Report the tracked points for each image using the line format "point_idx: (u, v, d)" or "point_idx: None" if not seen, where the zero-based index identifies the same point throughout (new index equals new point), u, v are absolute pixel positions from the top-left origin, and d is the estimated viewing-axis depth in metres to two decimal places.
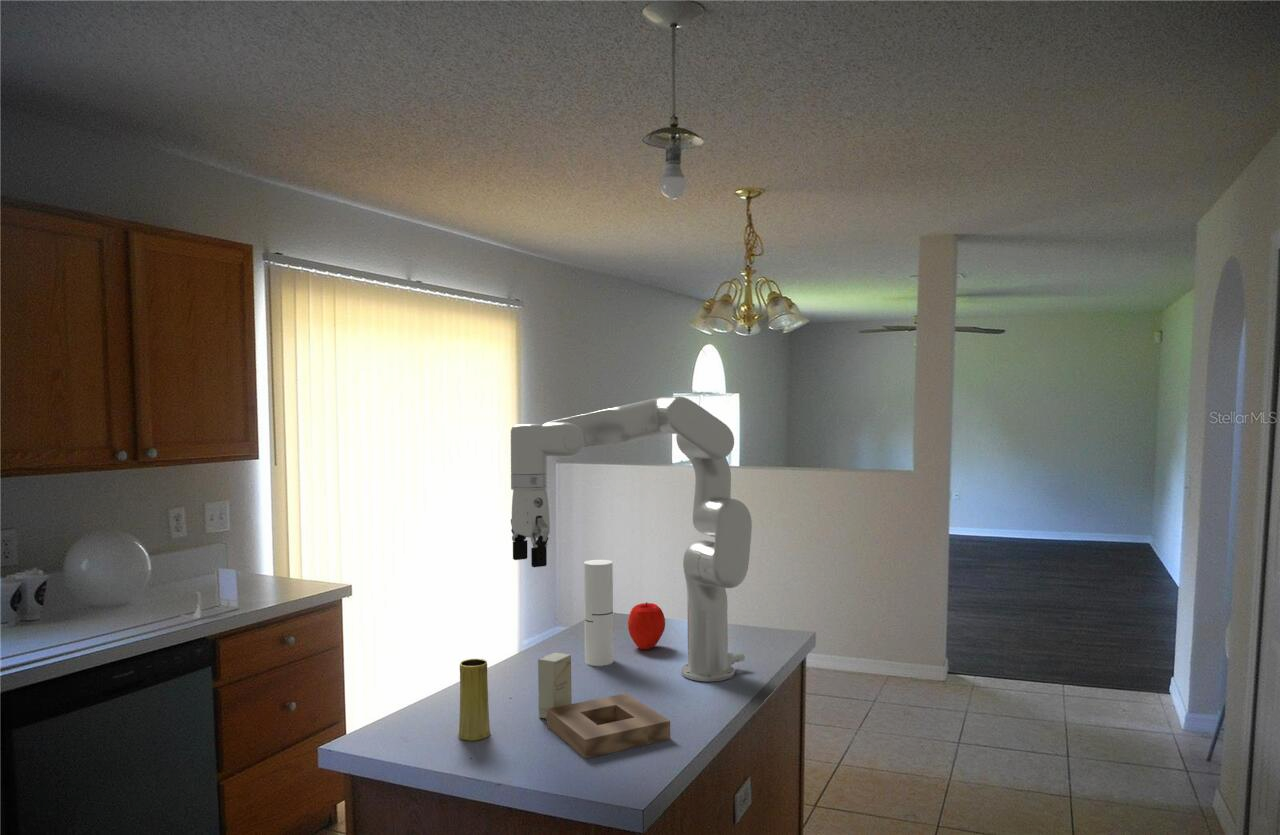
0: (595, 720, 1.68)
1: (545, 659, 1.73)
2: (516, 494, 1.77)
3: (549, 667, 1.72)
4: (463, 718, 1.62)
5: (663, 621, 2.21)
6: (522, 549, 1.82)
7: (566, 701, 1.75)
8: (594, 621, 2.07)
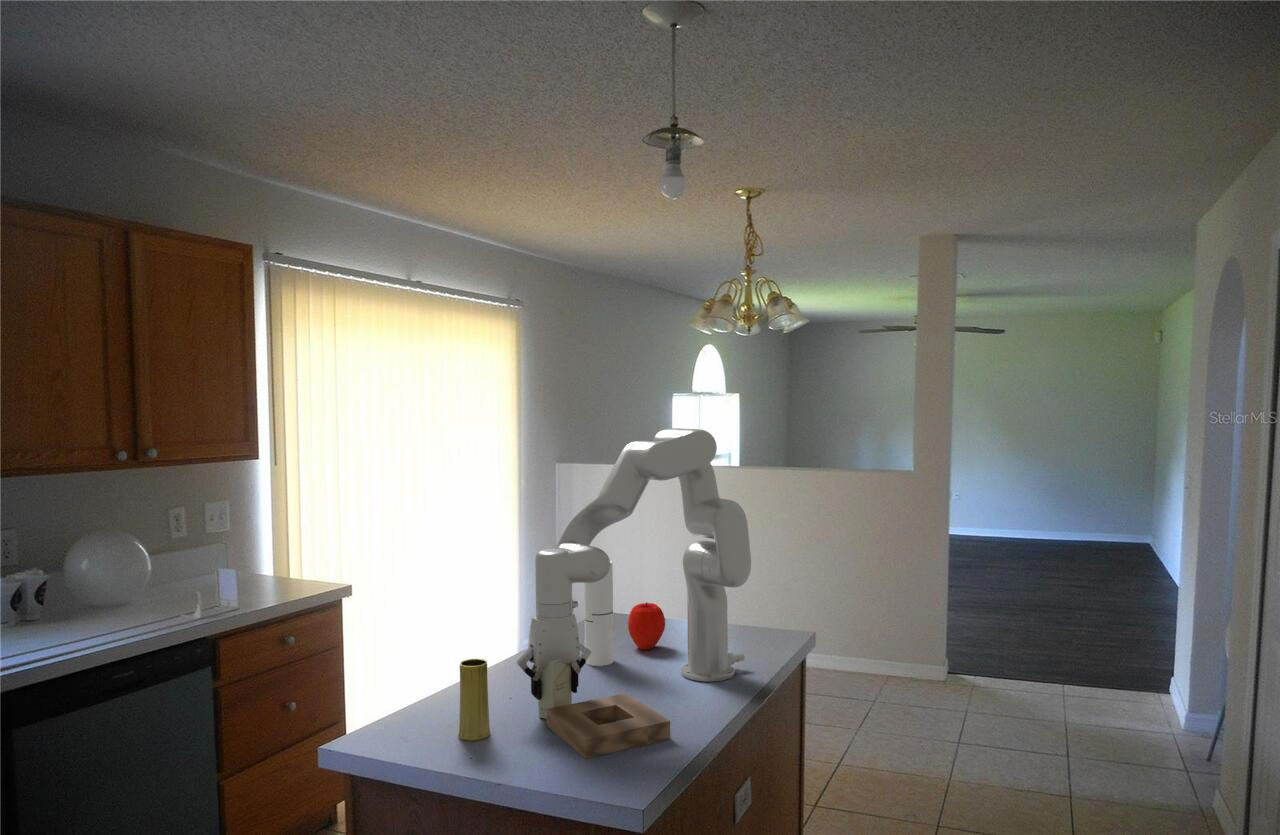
0: (595, 720, 1.68)
1: None
2: (555, 624, 1.72)
3: (550, 667, 1.72)
4: (463, 718, 1.62)
5: (663, 621, 2.21)
6: None
7: (566, 701, 1.75)
8: (594, 621, 2.07)
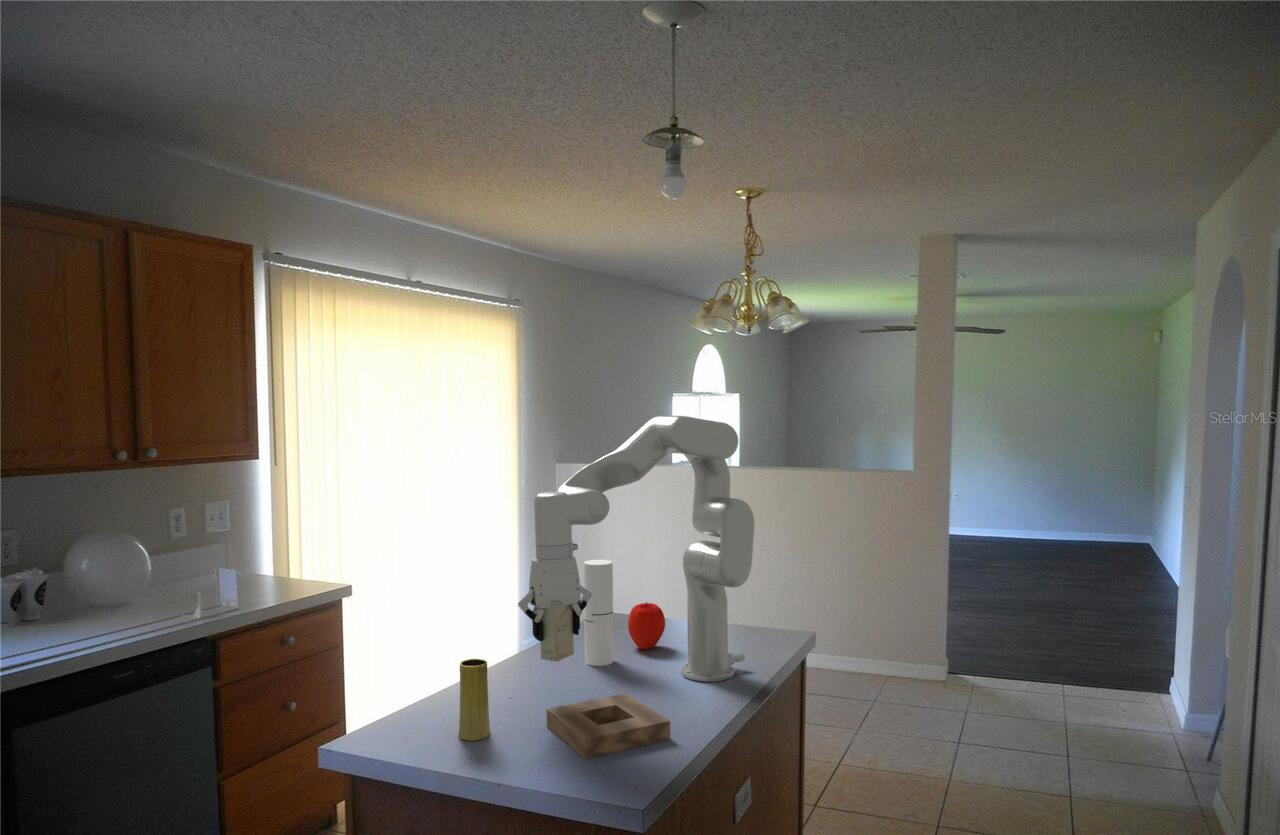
0: (595, 720, 1.68)
1: None
2: (556, 566, 1.72)
3: (551, 609, 1.72)
4: (463, 718, 1.62)
5: (663, 621, 2.21)
6: None
7: (568, 643, 1.75)
8: (594, 621, 2.07)
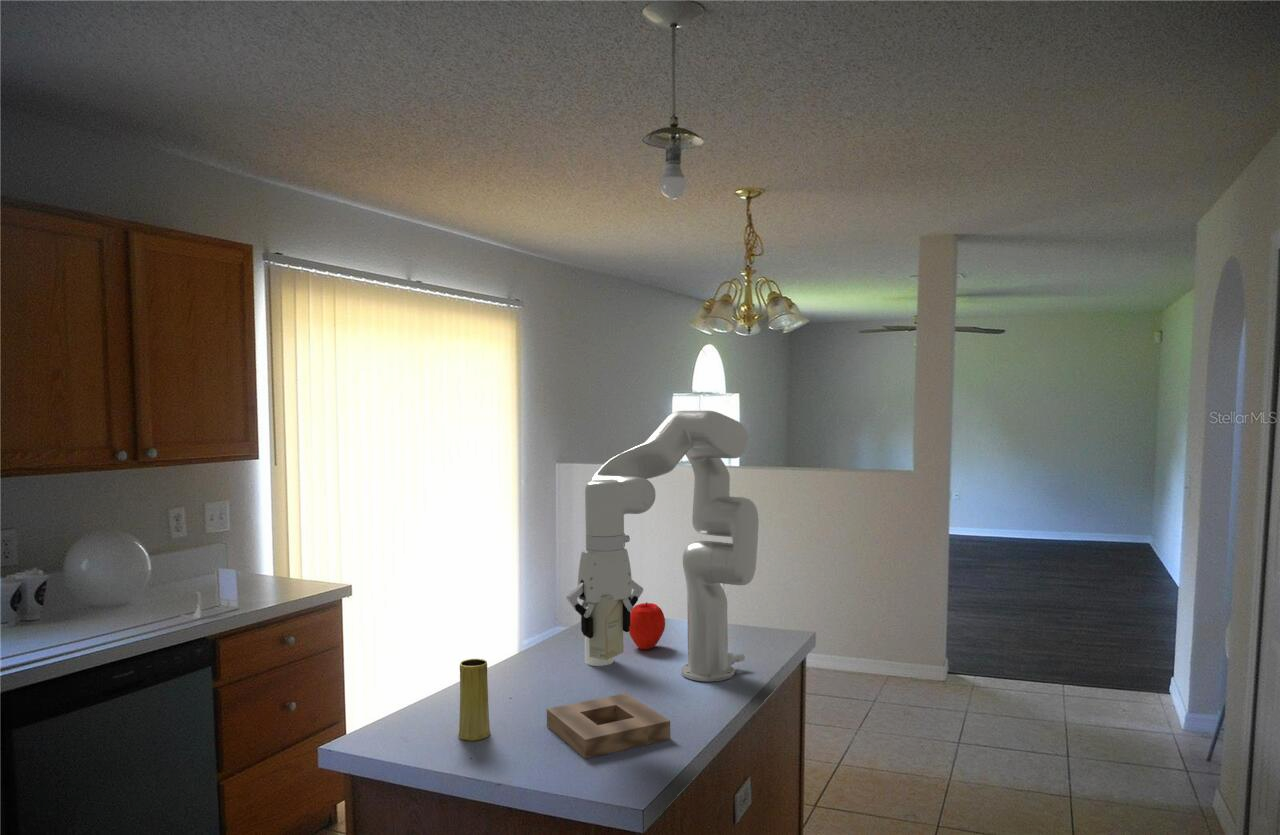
0: (595, 720, 1.68)
1: None
2: (607, 558, 1.62)
3: (601, 603, 1.62)
4: (463, 718, 1.62)
5: (663, 621, 2.21)
6: None
7: (618, 641, 1.65)
8: None
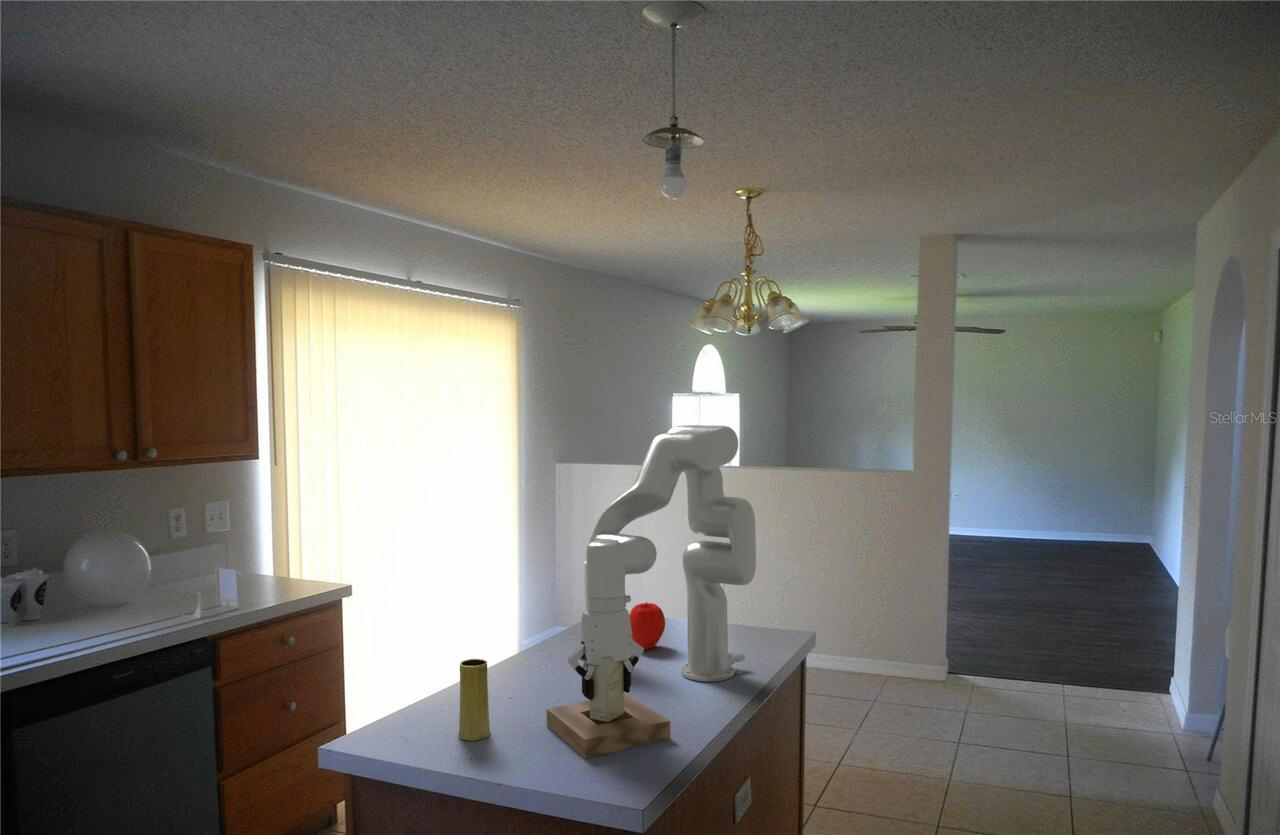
0: (595, 720, 1.68)
1: None
2: (608, 620, 1.62)
3: (602, 665, 1.62)
4: (463, 718, 1.62)
5: (663, 621, 2.21)
6: None
7: (619, 702, 1.65)
8: None
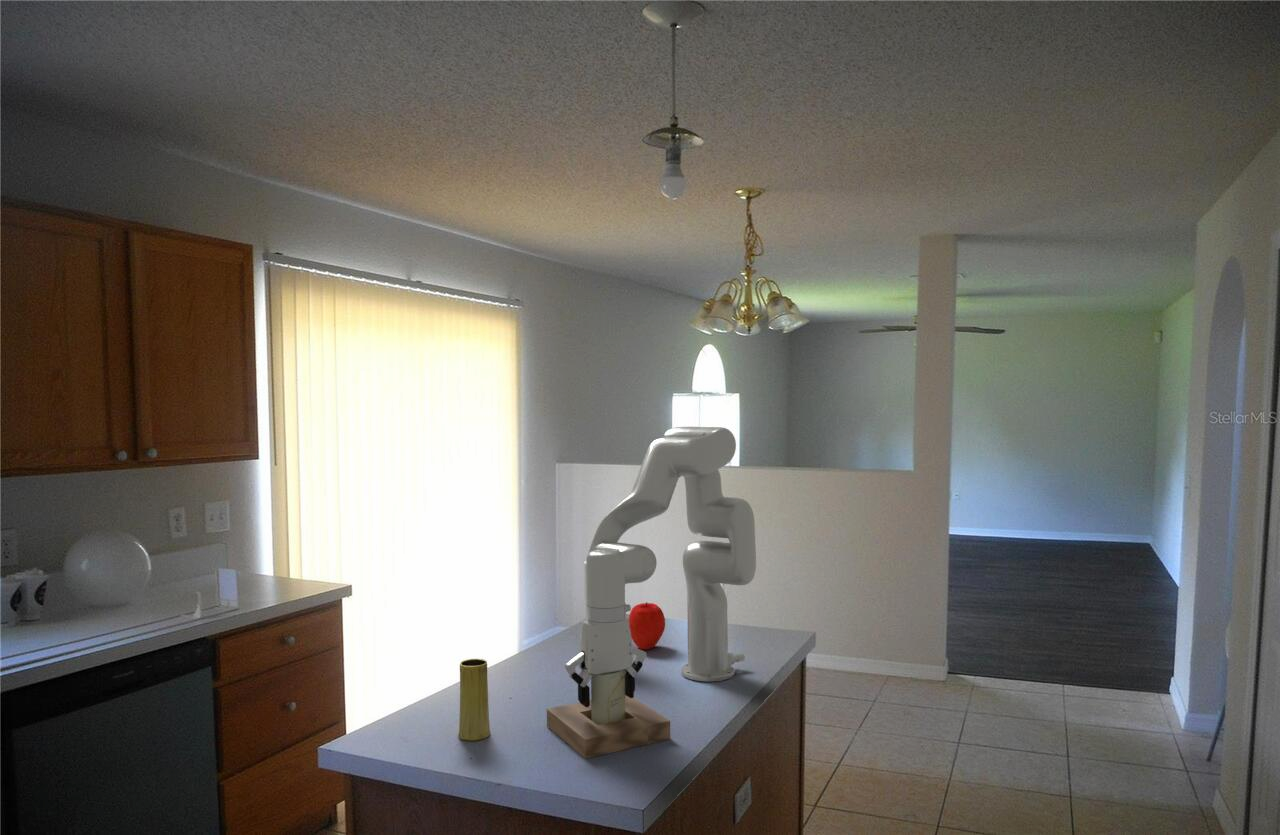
0: None
1: None
2: (608, 629, 1.62)
3: (604, 682, 1.62)
4: (463, 718, 1.62)
5: (663, 621, 2.21)
6: None
7: (620, 718, 1.65)
8: None
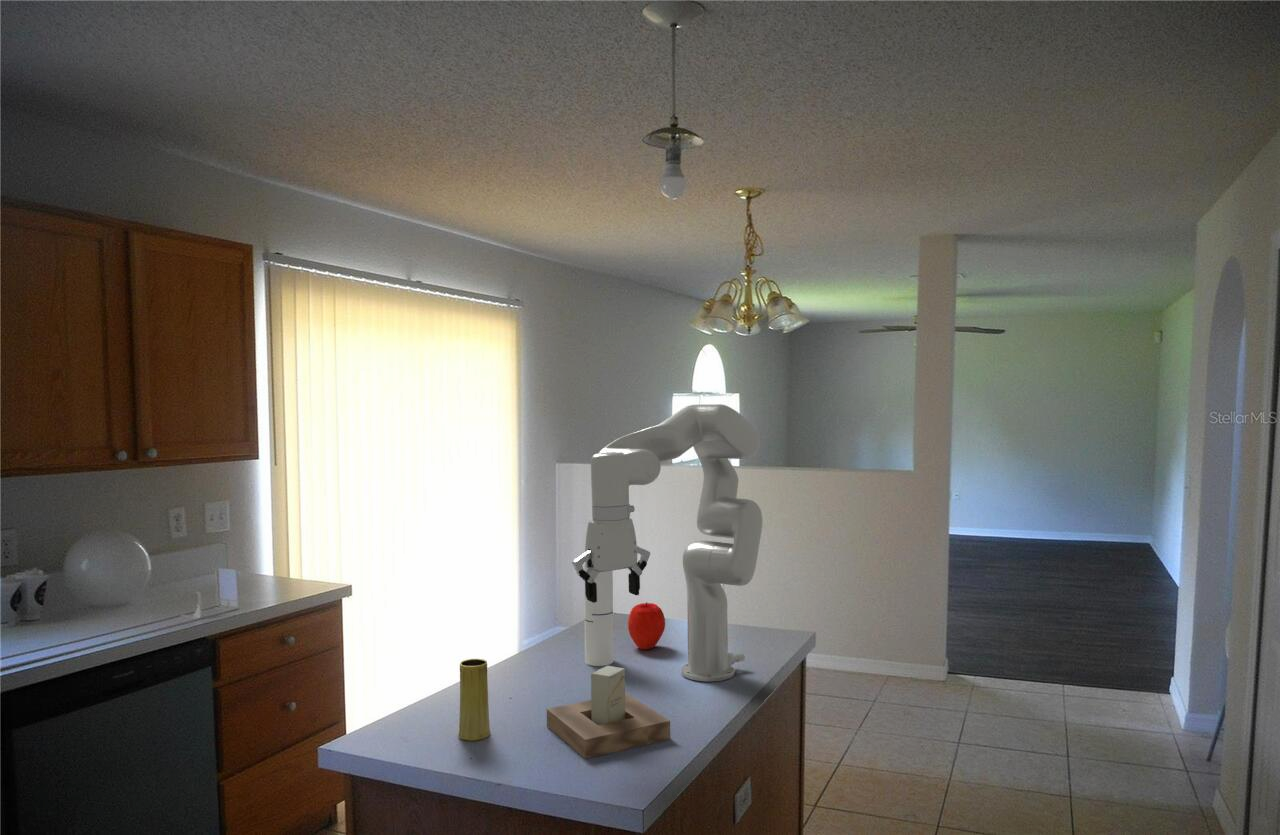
0: None
1: (598, 673, 1.63)
2: (613, 528, 1.67)
3: (603, 682, 1.62)
4: (463, 718, 1.62)
5: (663, 621, 2.21)
6: None
7: (620, 718, 1.65)
8: (594, 621, 2.07)
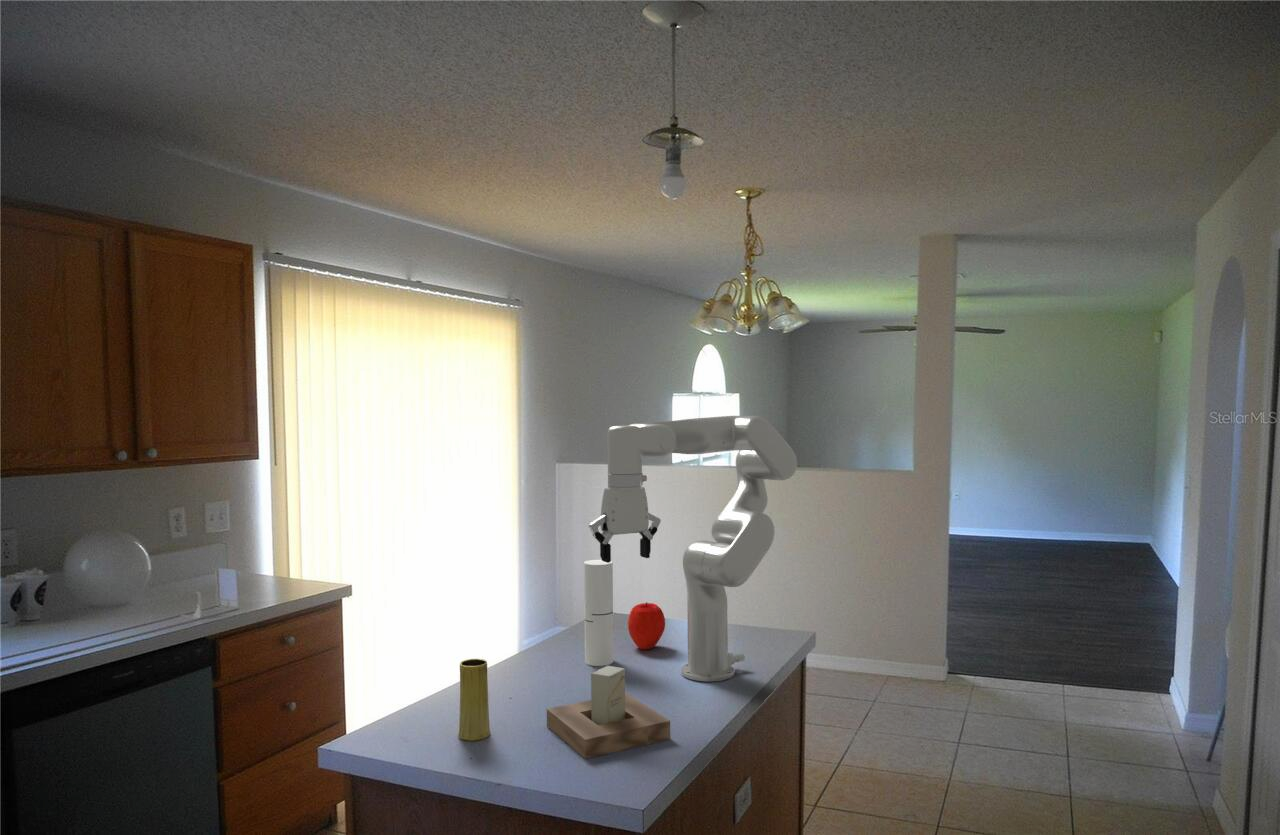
0: None
1: (598, 673, 1.63)
2: (627, 494, 1.82)
3: (604, 682, 1.62)
4: (463, 718, 1.62)
5: (663, 621, 2.21)
6: None
7: (620, 718, 1.65)
8: (594, 621, 2.07)
